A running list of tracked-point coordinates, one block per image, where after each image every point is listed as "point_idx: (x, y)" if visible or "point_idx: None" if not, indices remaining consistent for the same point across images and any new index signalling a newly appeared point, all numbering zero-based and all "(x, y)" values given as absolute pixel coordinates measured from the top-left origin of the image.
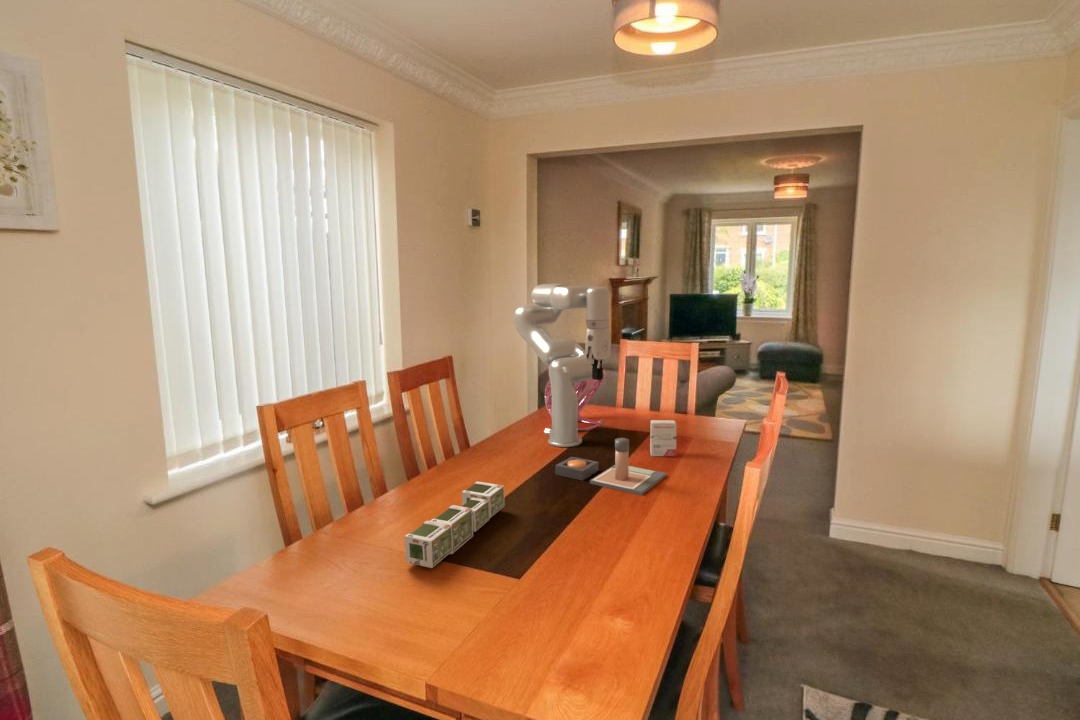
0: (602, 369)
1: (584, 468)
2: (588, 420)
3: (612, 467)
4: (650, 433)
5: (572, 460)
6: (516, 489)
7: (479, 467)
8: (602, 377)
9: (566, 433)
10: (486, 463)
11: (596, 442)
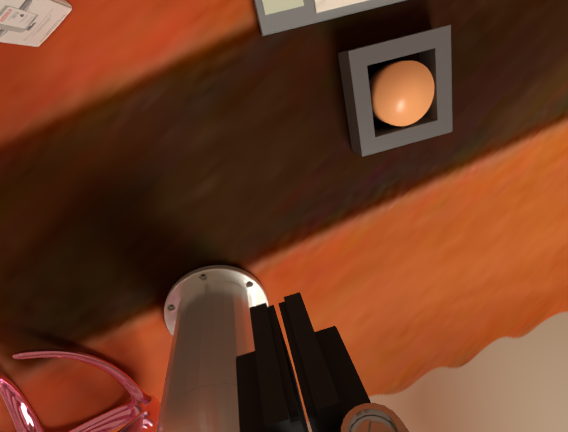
0: (272, 396)
1: (427, 39)
2: (16, 412)
3: (307, 16)
4: (5, 21)
5: (396, 121)
6: (564, 116)
7: (491, 282)
8: (257, 314)
9: (241, 304)
10: (463, 293)
11: (137, 255)
